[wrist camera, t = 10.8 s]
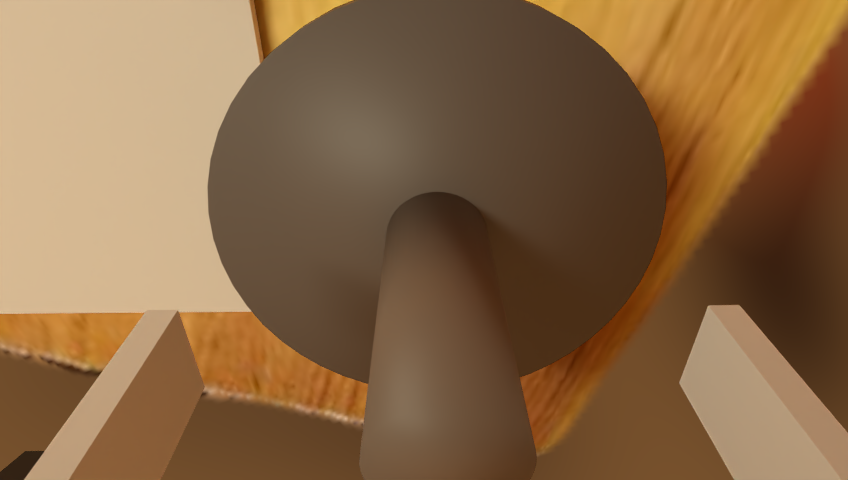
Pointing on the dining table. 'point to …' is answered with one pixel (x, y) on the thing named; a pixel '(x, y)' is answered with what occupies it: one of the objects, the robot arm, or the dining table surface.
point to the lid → (438, 214)
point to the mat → (115, 151)
